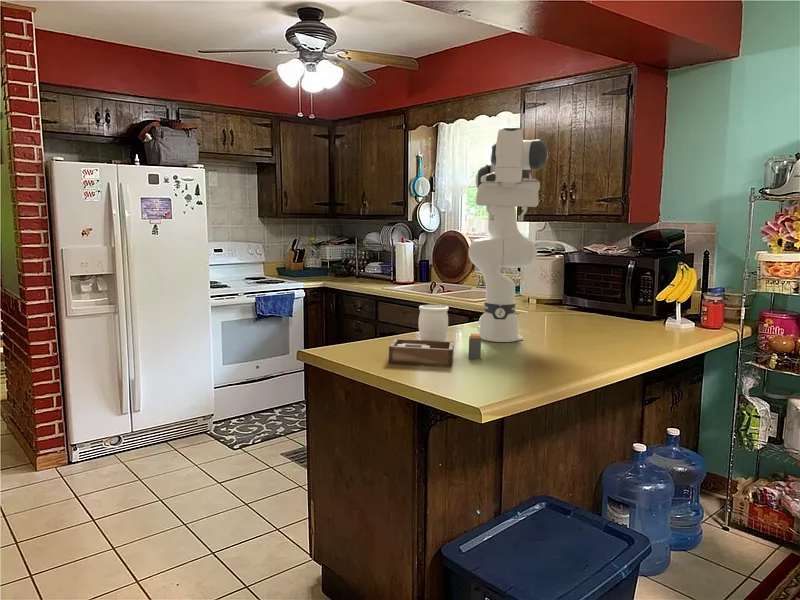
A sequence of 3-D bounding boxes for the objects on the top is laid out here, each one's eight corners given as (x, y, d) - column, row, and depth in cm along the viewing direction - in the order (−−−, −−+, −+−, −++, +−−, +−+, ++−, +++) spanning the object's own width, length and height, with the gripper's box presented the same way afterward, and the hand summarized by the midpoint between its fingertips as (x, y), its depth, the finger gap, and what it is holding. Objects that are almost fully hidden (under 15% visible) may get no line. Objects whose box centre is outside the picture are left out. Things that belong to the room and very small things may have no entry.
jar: (449, 346, 221) (451, 305, 219) (444, 352, 211) (445, 309, 209) (421, 343, 224) (422, 303, 222) (414, 349, 214) (415, 307, 212)
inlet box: (394, 354, 206) (394, 338, 205) (453, 357, 203) (453, 341, 202) (388, 363, 193) (389, 346, 192) (451, 367, 190) (452, 350, 190)
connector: (468, 356, 206) (469, 333, 205) (480, 356, 205) (481, 333, 204) (468, 358, 202) (469, 335, 201) (480, 359, 202) (481, 336, 200)
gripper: (538, 178, 200) (536, 221, 202) (476, 177, 201) (474, 219, 203) (542, 177, 194) (539, 221, 196) (477, 176, 195) (475, 219, 197)
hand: (506, 220), depth 199 cm, fingers open, 8 cm apart
